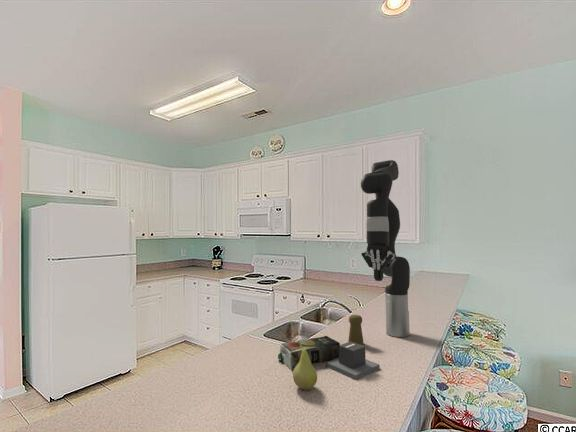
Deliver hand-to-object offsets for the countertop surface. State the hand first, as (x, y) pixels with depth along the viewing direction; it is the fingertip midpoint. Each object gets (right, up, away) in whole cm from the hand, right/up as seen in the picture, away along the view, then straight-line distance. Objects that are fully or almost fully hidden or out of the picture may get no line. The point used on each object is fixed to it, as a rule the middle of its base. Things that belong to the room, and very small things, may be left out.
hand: (378, 280), depth 105 cm
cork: (-5, -28, +15) cm, 32 cm away
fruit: (-27, -26, -19) cm, 42 cm away
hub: (-10, -27, -6) cm, 29 cm away
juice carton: (-24, -28, 0) cm, 37 cm away
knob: (-10, -26, -6) cm, 28 cm away
